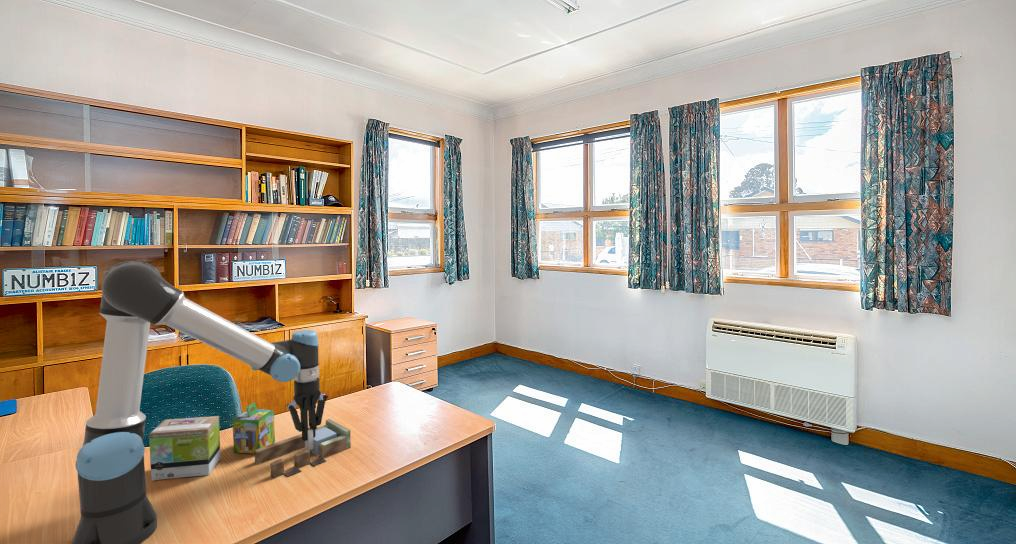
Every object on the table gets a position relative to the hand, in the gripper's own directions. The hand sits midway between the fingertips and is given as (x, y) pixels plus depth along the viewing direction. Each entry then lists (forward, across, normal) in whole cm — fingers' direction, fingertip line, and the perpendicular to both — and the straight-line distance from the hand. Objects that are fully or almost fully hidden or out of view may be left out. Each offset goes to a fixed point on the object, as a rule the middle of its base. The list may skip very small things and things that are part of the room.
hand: (309, 448), depth 147 cm
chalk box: (+2, -10, +17) cm, 20 cm away
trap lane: (+2, -2, -1) cm, 2 cm away
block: (+2, +4, 0) cm, 5 cm away
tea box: (+2, -29, +17) cm, 34 cm away
